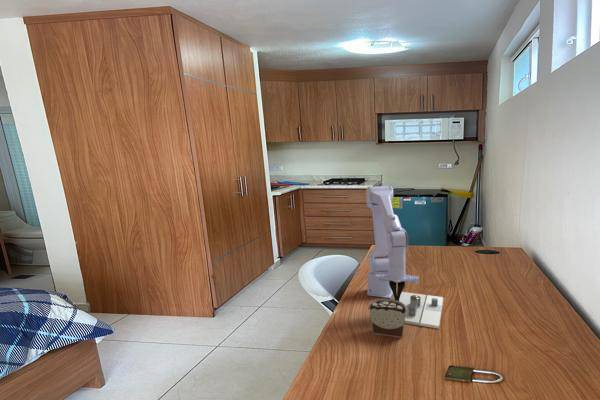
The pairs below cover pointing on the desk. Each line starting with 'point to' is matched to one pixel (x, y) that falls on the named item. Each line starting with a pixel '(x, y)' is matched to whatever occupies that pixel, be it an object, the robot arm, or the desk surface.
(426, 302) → the door board
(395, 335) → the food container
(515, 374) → the desk surface
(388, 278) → the robot arm
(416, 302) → the bar
